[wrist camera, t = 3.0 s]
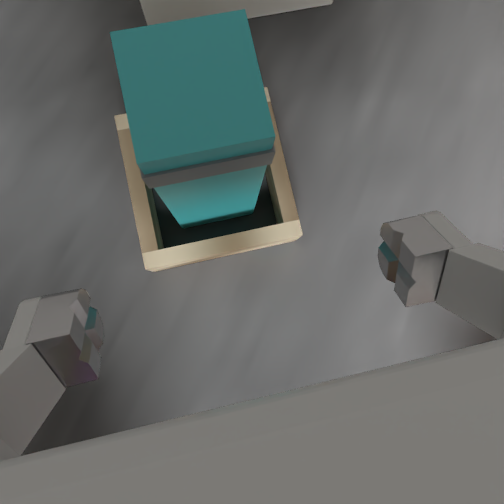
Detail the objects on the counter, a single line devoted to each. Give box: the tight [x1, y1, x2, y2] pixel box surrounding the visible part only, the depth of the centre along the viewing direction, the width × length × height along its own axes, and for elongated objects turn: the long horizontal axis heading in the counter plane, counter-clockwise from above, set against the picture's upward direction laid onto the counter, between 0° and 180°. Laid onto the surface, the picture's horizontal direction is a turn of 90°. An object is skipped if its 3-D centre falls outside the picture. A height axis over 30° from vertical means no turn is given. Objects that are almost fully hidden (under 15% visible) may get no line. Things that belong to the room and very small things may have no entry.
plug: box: [110, 9, 276, 229], centre depth 17 cm, size 4×4×11 cm
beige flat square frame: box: [114, 87, 303, 272], centre depth 21 cm, size 8×8×2 cm
